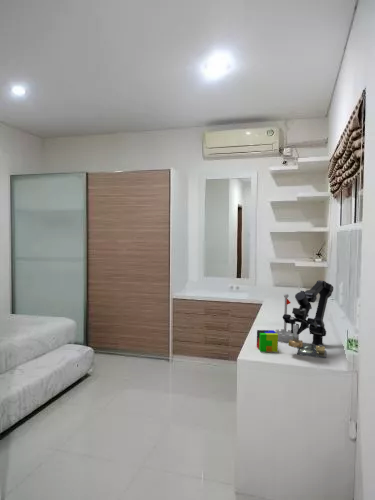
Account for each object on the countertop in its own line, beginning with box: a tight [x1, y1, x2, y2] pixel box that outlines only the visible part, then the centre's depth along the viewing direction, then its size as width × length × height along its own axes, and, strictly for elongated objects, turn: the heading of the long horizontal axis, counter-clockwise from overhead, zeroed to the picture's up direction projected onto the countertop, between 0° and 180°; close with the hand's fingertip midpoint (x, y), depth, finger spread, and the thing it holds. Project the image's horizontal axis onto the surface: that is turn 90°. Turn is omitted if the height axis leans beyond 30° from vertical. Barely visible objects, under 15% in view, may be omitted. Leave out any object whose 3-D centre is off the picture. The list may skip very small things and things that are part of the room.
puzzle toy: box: [256, 329, 279, 353], centre depth 221 cm, size 10×10×10 cm
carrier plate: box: [296, 342, 327, 359], centre depth 215 cm, size 12×16×5 cm
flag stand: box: [274, 293, 293, 343], centre depth 241 cm, size 13×13×30 cm
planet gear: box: [288, 323, 304, 349], centre depth 209 cm, size 8×7×12 cm
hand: (294, 333), depth 208 cm, fingers closed on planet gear, 3 cm apart
